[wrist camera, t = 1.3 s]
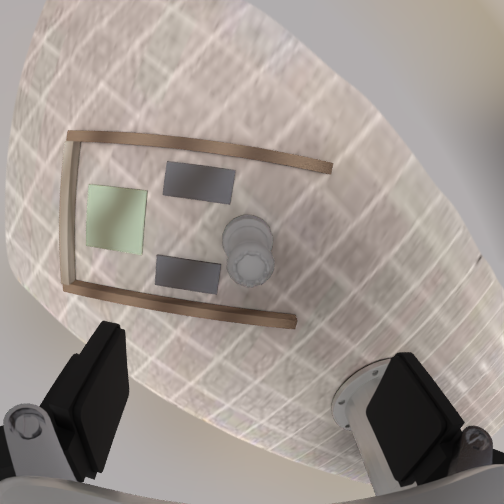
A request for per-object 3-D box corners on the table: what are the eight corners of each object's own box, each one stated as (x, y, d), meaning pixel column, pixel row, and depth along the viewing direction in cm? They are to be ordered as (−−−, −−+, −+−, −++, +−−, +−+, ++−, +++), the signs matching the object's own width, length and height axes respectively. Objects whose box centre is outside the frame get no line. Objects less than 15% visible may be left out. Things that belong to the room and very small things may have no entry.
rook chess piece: (239, 270, 29) (240, 311, 21) (212, 230, 27) (203, 259, 20) (281, 245, 28) (297, 279, 21) (255, 204, 27) (262, 223, 19)
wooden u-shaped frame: (329, 162, 26) (334, 163, 25) (293, 323, 31) (295, 330, 29) (73, 131, 24) (66, 130, 22) (68, 286, 28) (62, 292, 27)
